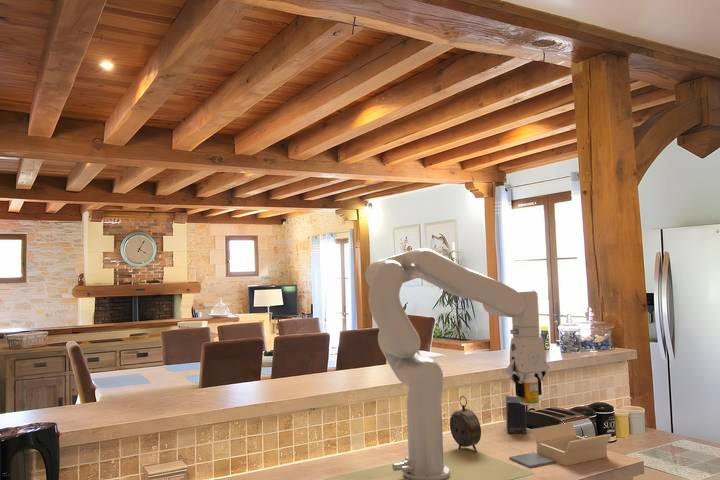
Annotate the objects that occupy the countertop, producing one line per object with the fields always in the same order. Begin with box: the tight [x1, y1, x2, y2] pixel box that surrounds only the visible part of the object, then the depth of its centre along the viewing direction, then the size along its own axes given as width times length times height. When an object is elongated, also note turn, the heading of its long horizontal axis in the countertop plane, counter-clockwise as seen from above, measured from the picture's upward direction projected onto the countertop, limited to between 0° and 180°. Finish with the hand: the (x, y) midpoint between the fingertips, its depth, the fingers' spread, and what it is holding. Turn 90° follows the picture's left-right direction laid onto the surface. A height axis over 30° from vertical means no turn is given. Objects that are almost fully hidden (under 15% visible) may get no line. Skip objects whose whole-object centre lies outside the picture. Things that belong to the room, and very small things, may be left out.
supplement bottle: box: [519, 373, 540, 406], centre depth 170 cm, size 5×5×10 cm
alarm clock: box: [449, 395, 482, 453], centre depth 183 cm, size 11×5×16 cm, turn 27°
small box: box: [505, 395, 527, 435], centre depth 203 cm, size 11×6×10 cm, turn 168°
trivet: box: [508, 451, 556, 469], centre depth 169 cm, size 9×9×1 cm
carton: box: [530, 421, 612, 466], centre depth 173 cm, size 16×16×7 cm
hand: (528, 394), depth 170 cm, fingers closed on supplement bottle, 5 cm apart
